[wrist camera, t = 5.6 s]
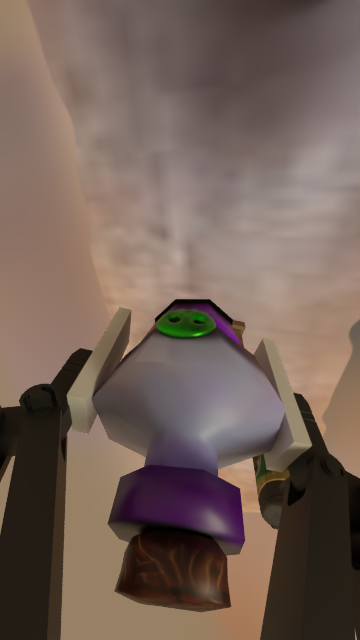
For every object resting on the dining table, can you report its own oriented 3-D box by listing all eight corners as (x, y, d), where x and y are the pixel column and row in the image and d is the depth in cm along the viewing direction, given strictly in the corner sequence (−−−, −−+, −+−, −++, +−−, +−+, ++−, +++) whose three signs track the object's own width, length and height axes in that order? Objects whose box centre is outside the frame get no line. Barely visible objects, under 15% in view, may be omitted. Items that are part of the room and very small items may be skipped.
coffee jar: (280, 420, 48) (313, 539, 33) (242, 417, 49) (257, 532, 34) (293, 391, 42) (339, 519, 27) (249, 388, 43) (271, 510, 28)
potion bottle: (234, 250, 12) (334, 596, 3) (271, 358, 16) (364, 647, 7) (107, 302, 15) (-76, 562, 5) (167, 383, 19) (125, 613, 10)
